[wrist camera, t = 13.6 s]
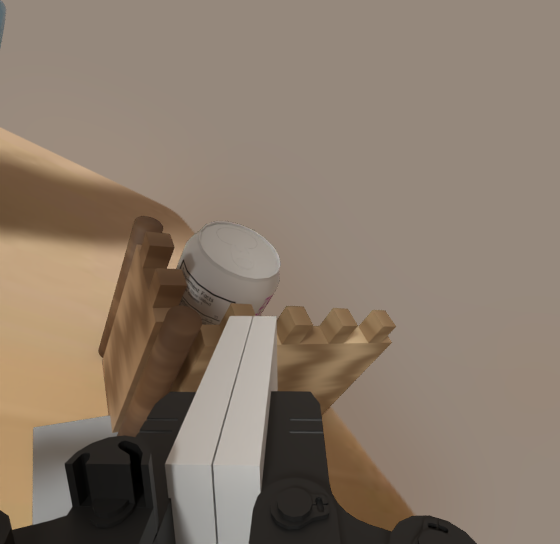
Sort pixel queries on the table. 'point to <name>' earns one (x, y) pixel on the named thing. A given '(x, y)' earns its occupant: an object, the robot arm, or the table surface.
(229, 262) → the supplement can
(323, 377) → the fence panel
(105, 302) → the table surface
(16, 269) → the table surface
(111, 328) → the fence base
